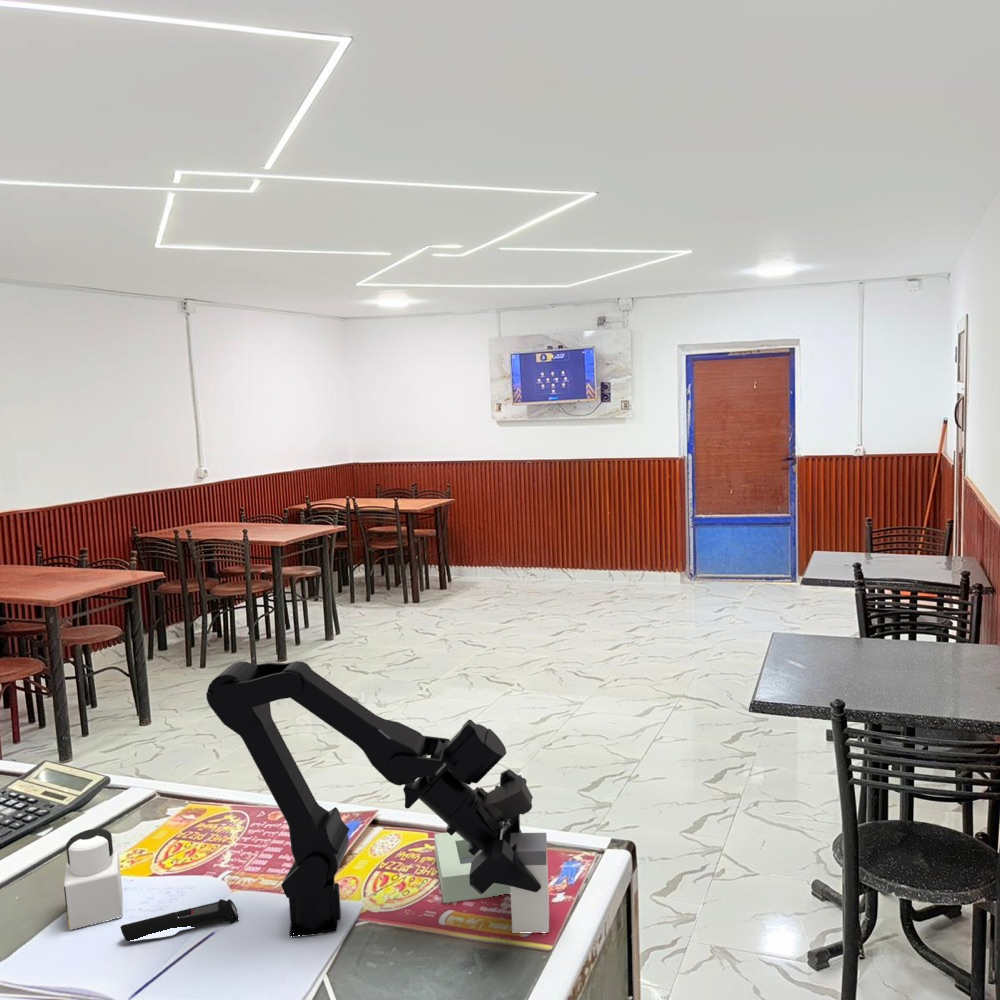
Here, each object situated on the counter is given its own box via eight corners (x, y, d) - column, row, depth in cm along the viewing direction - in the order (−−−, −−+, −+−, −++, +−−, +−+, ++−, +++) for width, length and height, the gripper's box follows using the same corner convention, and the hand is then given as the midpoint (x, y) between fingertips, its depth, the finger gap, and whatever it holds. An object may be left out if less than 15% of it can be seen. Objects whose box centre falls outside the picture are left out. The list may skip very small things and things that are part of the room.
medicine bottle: (70, 906, 132) (62, 830, 130) (122, 893, 134) (115, 819, 133) (68, 932, 125) (59, 852, 124) (122, 918, 128) (115, 840, 126)
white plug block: (512, 933, 120) (509, 851, 119) (514, 912, 125) (510, 832, 124) (548, 933, 120) (546, 851, 119) (549, 912, 125) (546, 832, 124)
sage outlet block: (443, 903, 128) (442, 877, 128) (435, 857, 141) (434, 833, 141) (531, 891, 130) (530, 866, 130) (515, 847, 143) (514, 824, 143)
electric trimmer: (123, 938, 124) (120, 917, 124) (237, 910, 129) (235, 890, 129) (122, 954, 120) (119, 932, 120) (239, 924, 126) (237, 904, 125)
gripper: (491, 794, 111) (581, 876, 112) (500, 736, 129) (577, 807, 130) (432, 854, 112) (521, 934, 113) (449, 788, 131) (526, 857, 132)
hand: (539, 878), depth 122 cm, fingers open, 5 cm apart
